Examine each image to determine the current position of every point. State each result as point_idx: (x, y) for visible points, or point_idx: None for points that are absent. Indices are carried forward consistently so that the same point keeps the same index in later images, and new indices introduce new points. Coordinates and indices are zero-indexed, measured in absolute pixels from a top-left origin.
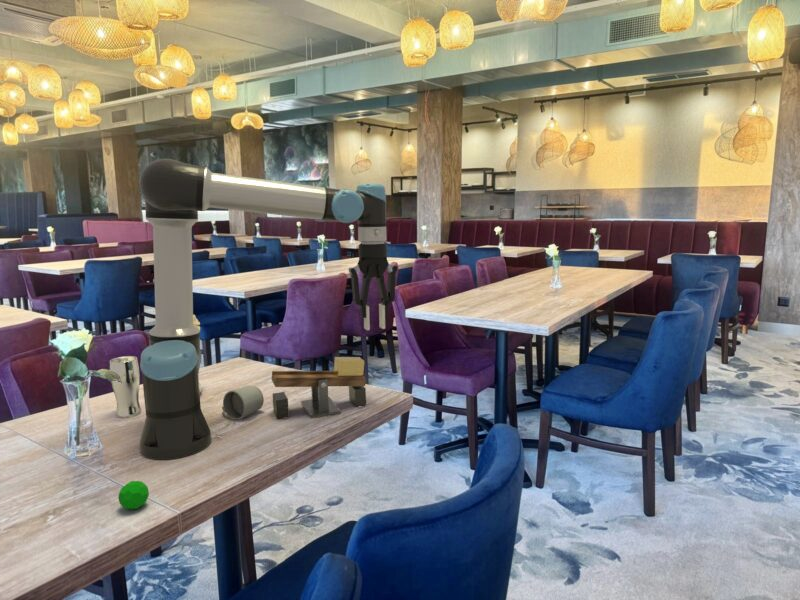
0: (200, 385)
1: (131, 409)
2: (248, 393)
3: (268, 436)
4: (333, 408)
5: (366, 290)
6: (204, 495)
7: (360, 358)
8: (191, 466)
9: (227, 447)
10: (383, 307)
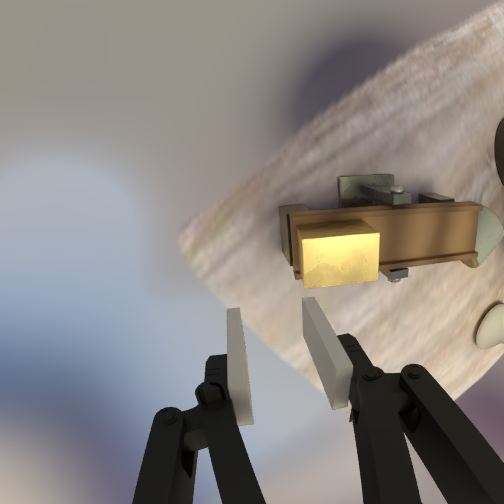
0: (482, 333)
1: None
2: (485, 227)
3: (447, 127)
4: (350, 196)
5: (390, 449)
6: (478, 21)
7: (306, 272)
8: (500, 88)
9: (481, 118)
10: (236, 376)
